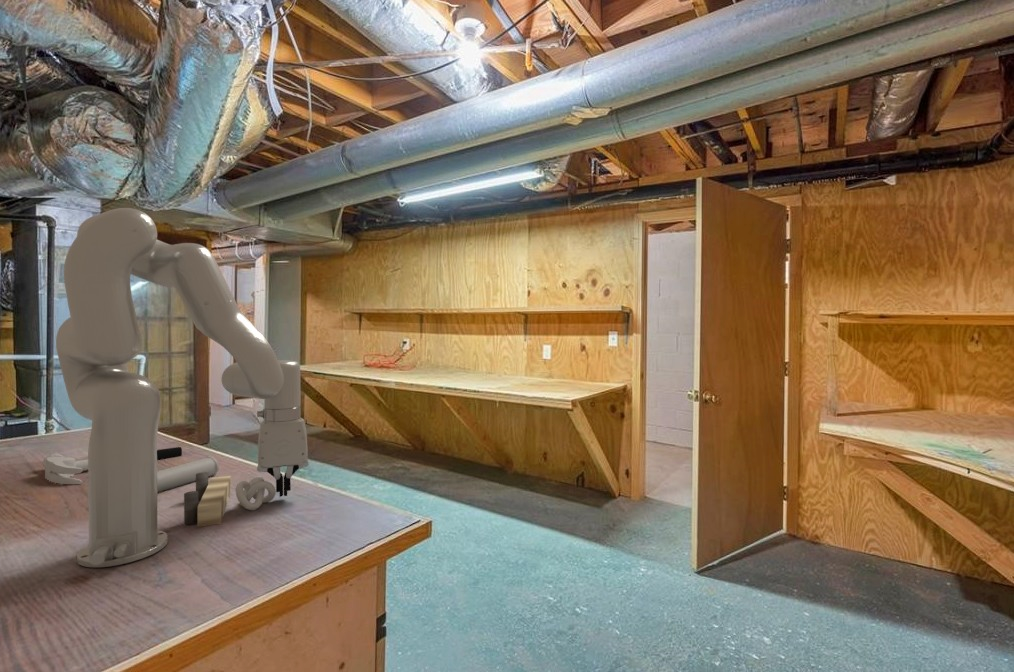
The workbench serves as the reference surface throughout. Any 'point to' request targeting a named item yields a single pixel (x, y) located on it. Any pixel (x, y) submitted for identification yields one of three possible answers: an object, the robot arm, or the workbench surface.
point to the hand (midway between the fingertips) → (283, 494)
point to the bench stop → (207, 500)
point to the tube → (185, 473)
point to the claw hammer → (84, 465)
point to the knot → (254, 492)
